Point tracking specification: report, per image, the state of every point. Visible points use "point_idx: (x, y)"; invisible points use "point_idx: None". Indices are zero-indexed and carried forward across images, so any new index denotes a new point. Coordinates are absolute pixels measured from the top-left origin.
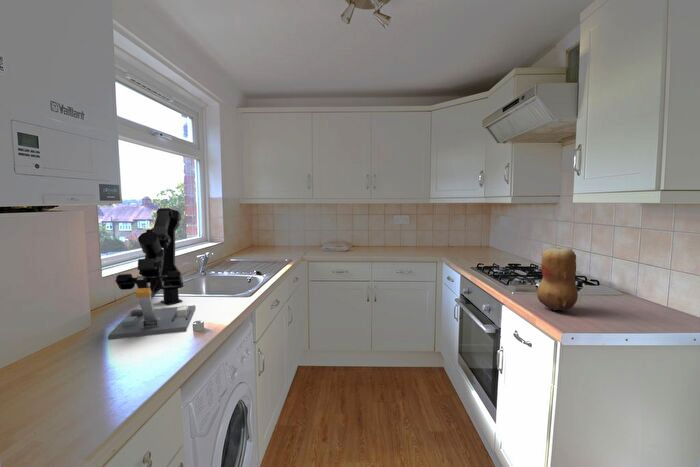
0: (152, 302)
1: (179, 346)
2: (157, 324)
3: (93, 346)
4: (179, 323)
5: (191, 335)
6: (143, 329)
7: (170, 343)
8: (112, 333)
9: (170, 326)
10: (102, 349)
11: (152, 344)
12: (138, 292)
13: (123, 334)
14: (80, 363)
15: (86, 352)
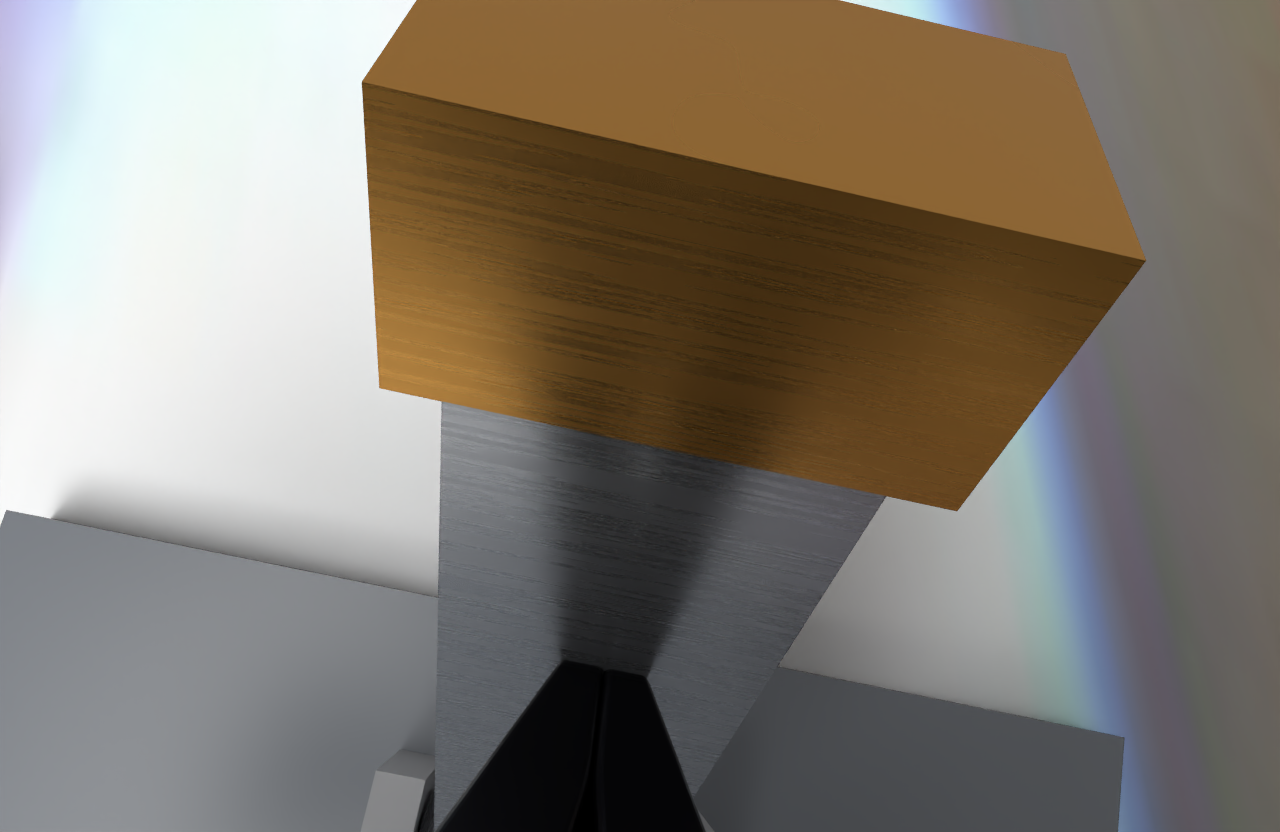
0: (437, 657)
1: (231, 9)
2: (433, 760)
3: (1199, 548)
4: (73, 752)
5: (18, 298)
6: None
7: (320, 157)
8: (1078, 774)
9: (239, 660)
10: (1070, 384)
11: None
12: (957, 33)
13: (917, 696)
14: (1183, 100)
15: (1218, 381)
